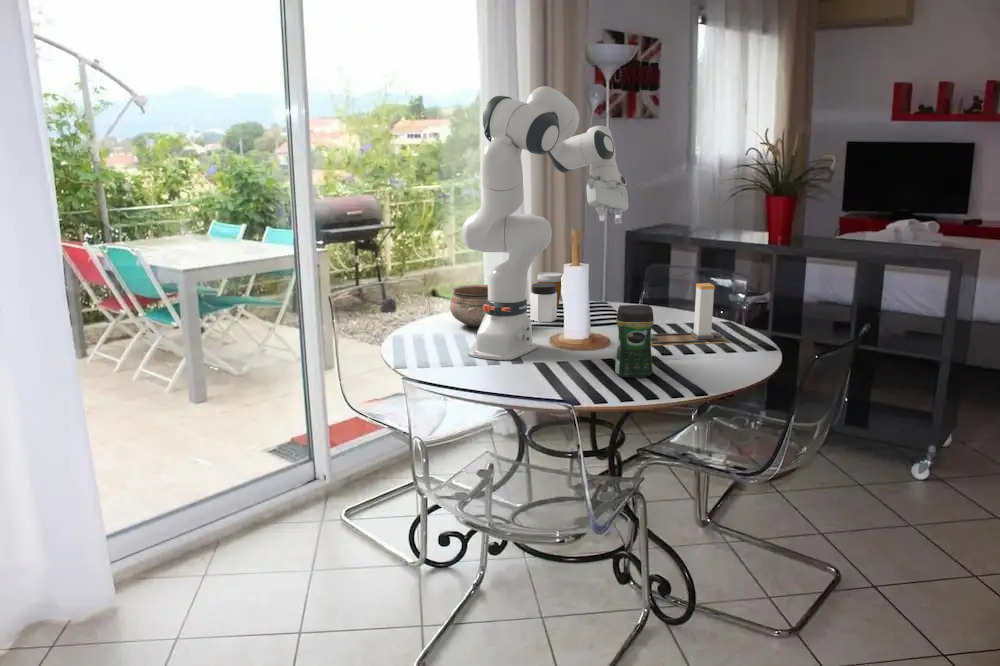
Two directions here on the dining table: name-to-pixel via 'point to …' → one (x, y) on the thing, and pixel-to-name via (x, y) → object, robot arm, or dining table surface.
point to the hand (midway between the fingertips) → (611, 222)
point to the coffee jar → (634, 341)
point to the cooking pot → (469, 304)
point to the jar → (543, 302)
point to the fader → (703, 311)
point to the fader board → (684, 339)
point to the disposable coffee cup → (551, 281)
